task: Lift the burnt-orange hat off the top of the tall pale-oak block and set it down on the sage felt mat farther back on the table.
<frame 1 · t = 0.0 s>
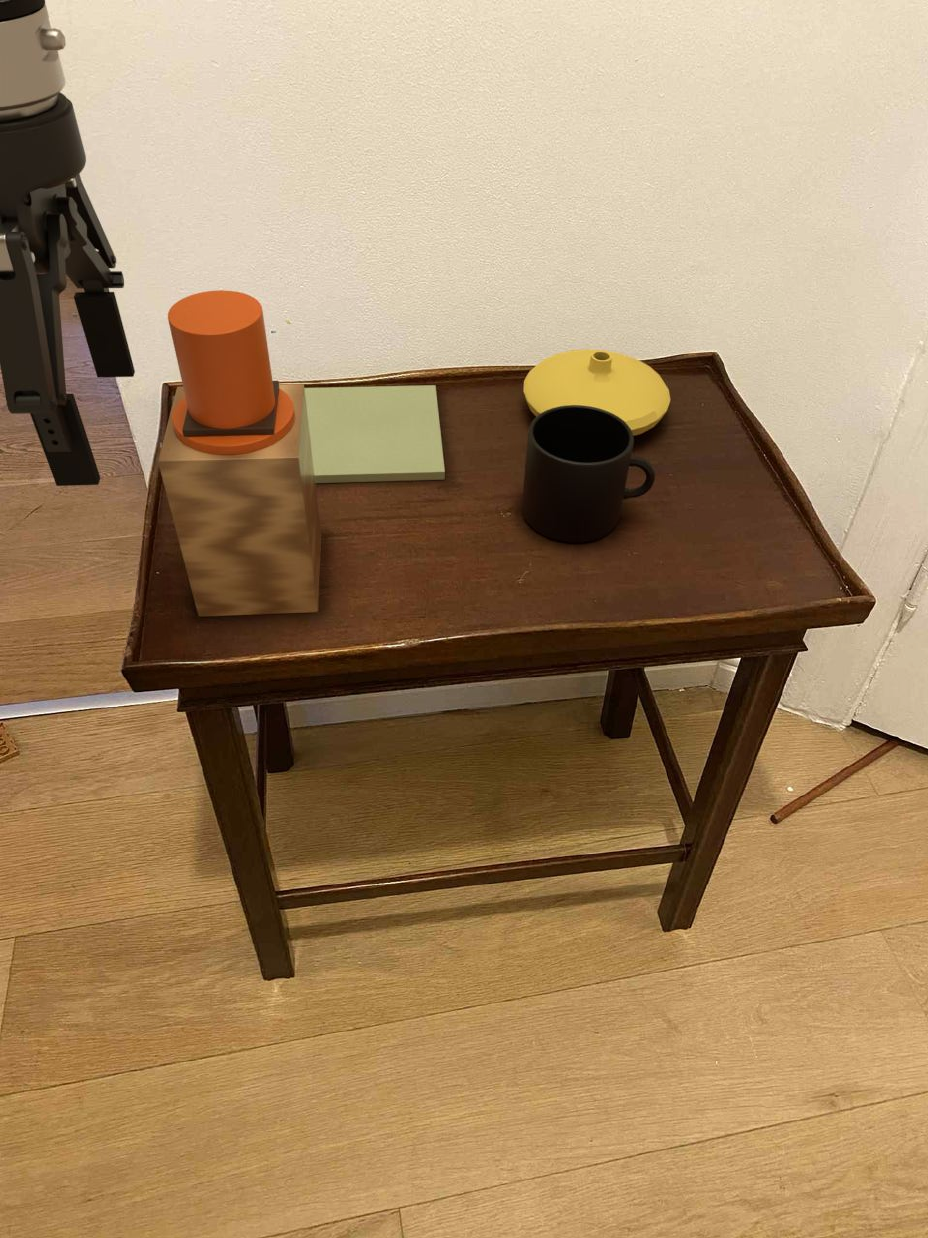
hand: (99, 424, 66), 18 cm above the table, tool pointing down, fingers open, 13 cm apart
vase: (592, 415, 100), on the table
hat: (234, 420, 69), point 16 cm above the table, touching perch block
mat: (354, 435, 96), on the table
mug: (583, 515, 88), on the table
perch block: (262, 574, 81), on the table
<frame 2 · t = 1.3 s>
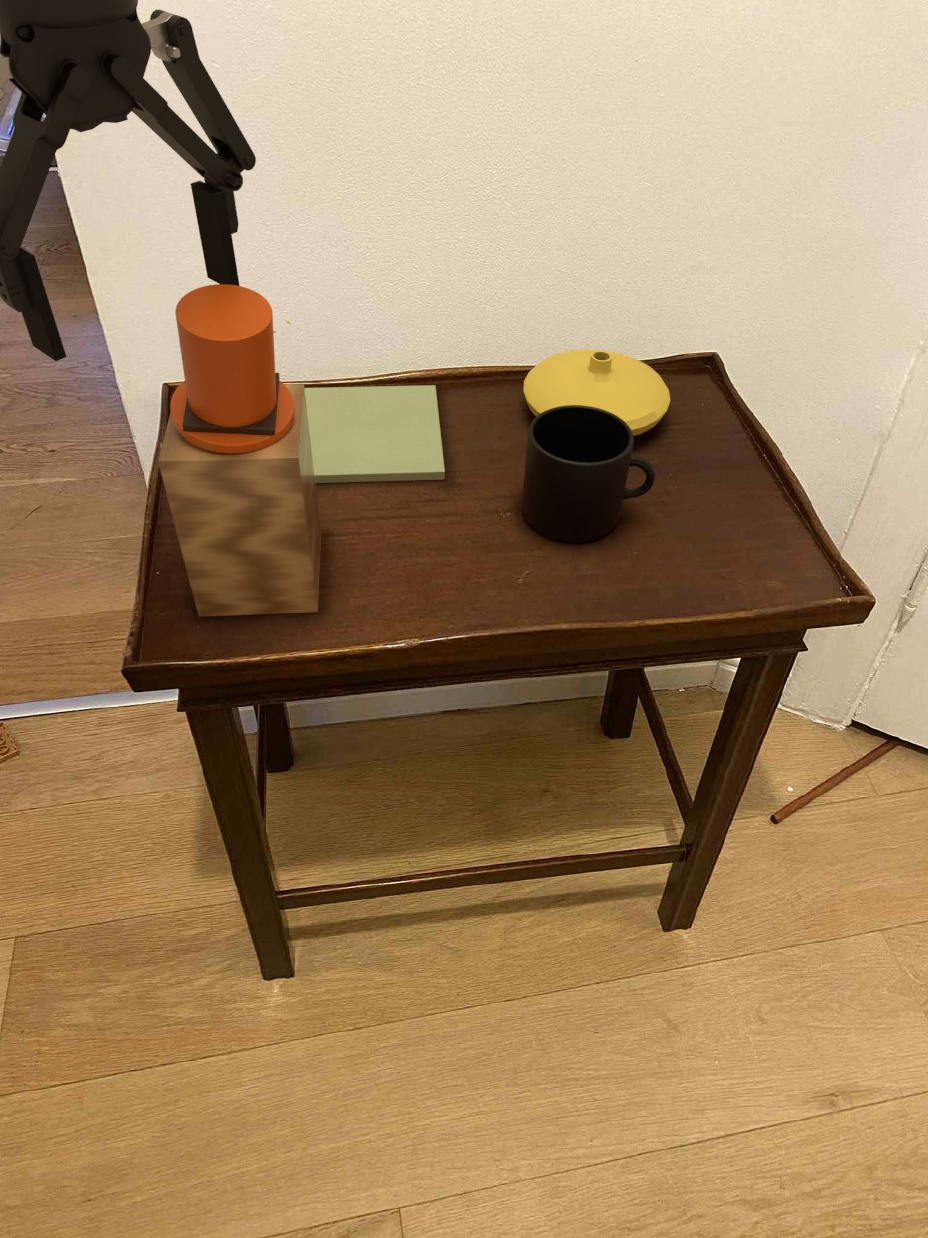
hand: (141, 315, 61), 25 cm above the table, tool pointing down, fingers open, 13 cm apart
hat: (233, 412, 69), point 17 cm above the table, tilted 9°, touching gripper, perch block
everything else where it was.
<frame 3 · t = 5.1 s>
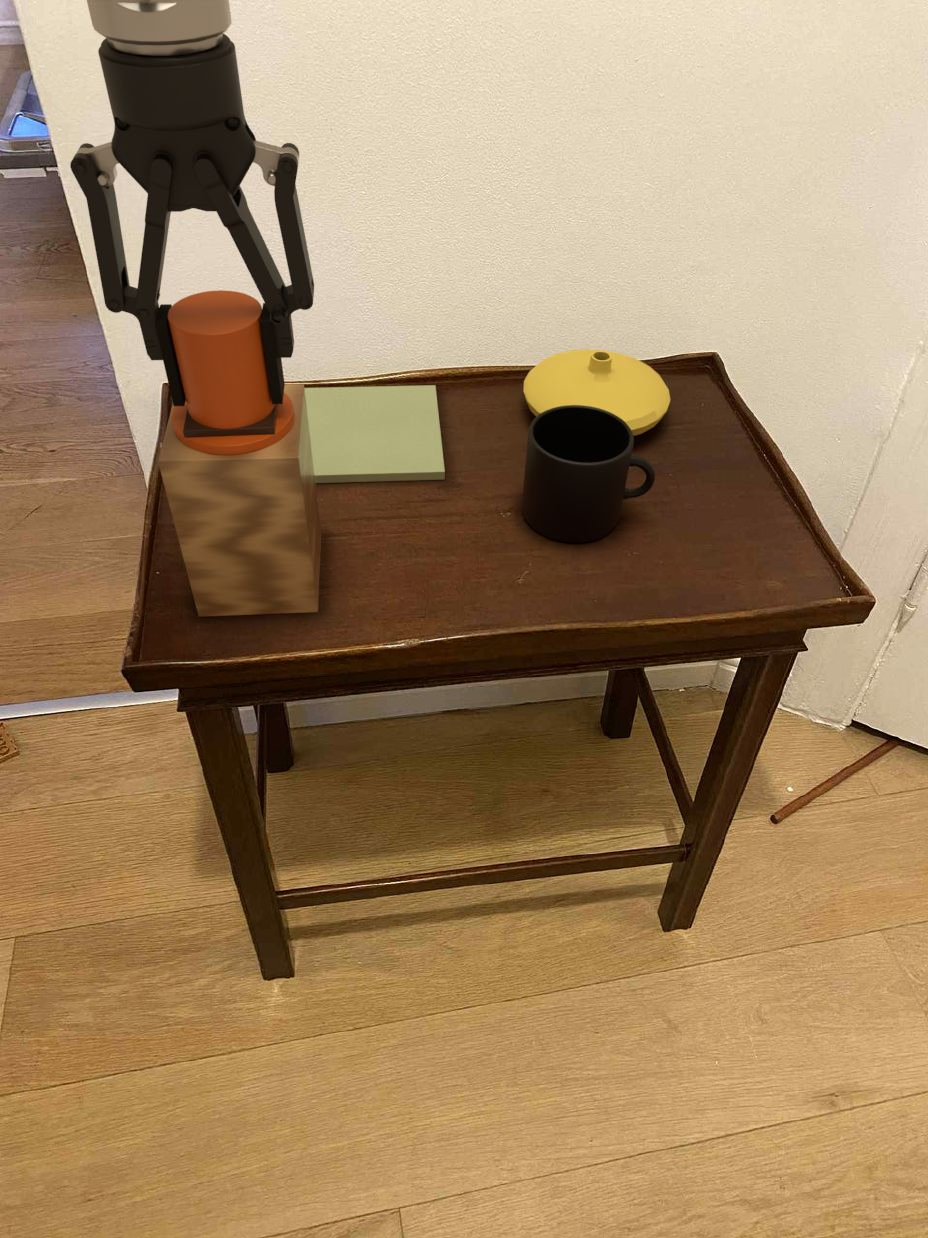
hand: (230, 394, 68), 18 cm above the table, tool pointing down, fingers closed on hat, 6 cm apart
hat: (234, 420, 69), point 16 cm above the table, touching gripper
everything else where it was.
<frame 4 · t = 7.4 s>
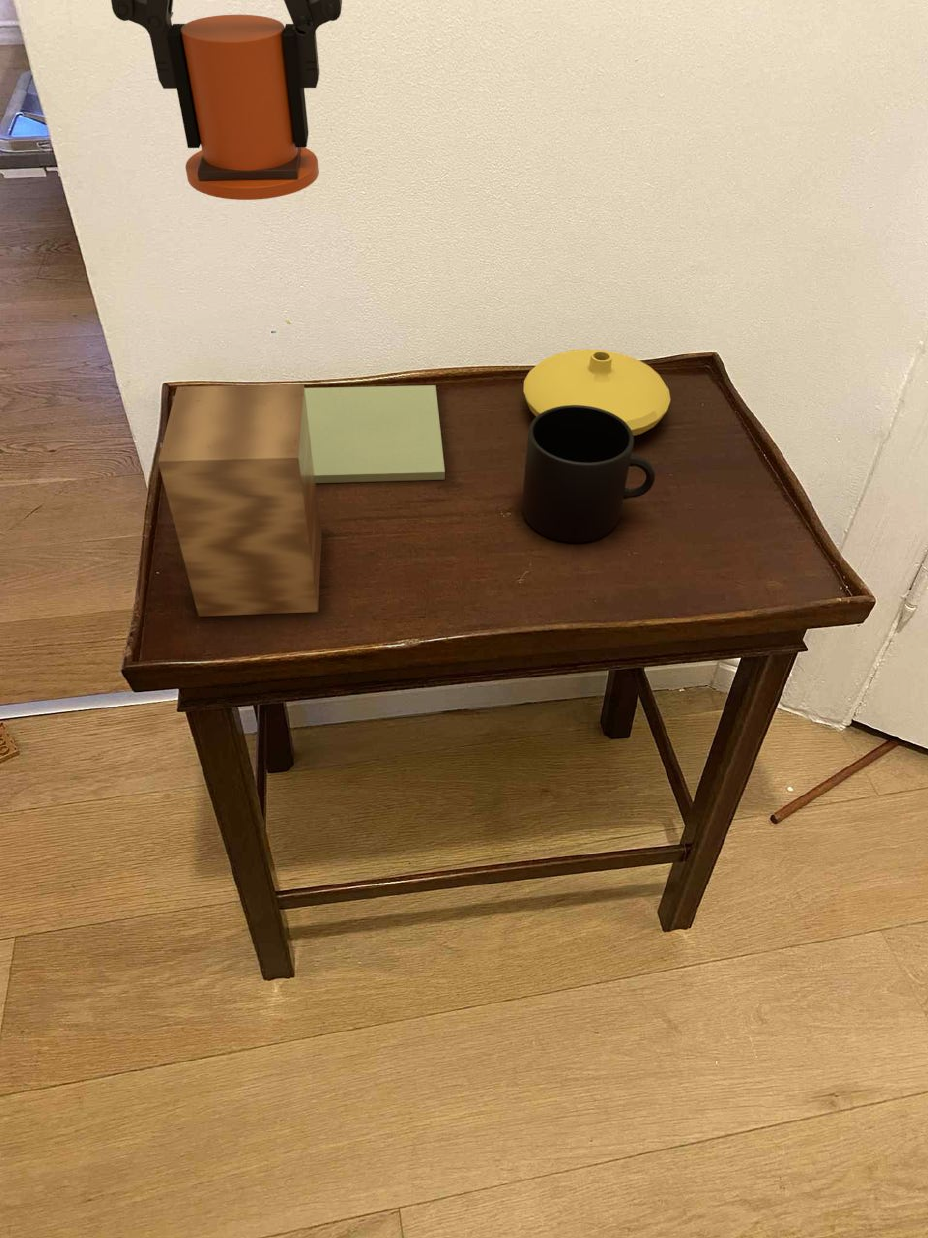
hand: (249, 139, 62), 34 cm above the table, tool pointing down, fingers closed on hat, 6 cm apart
hat: (253, 174, 63), point 31 cm above the table, touching gripper
everything else where it was.
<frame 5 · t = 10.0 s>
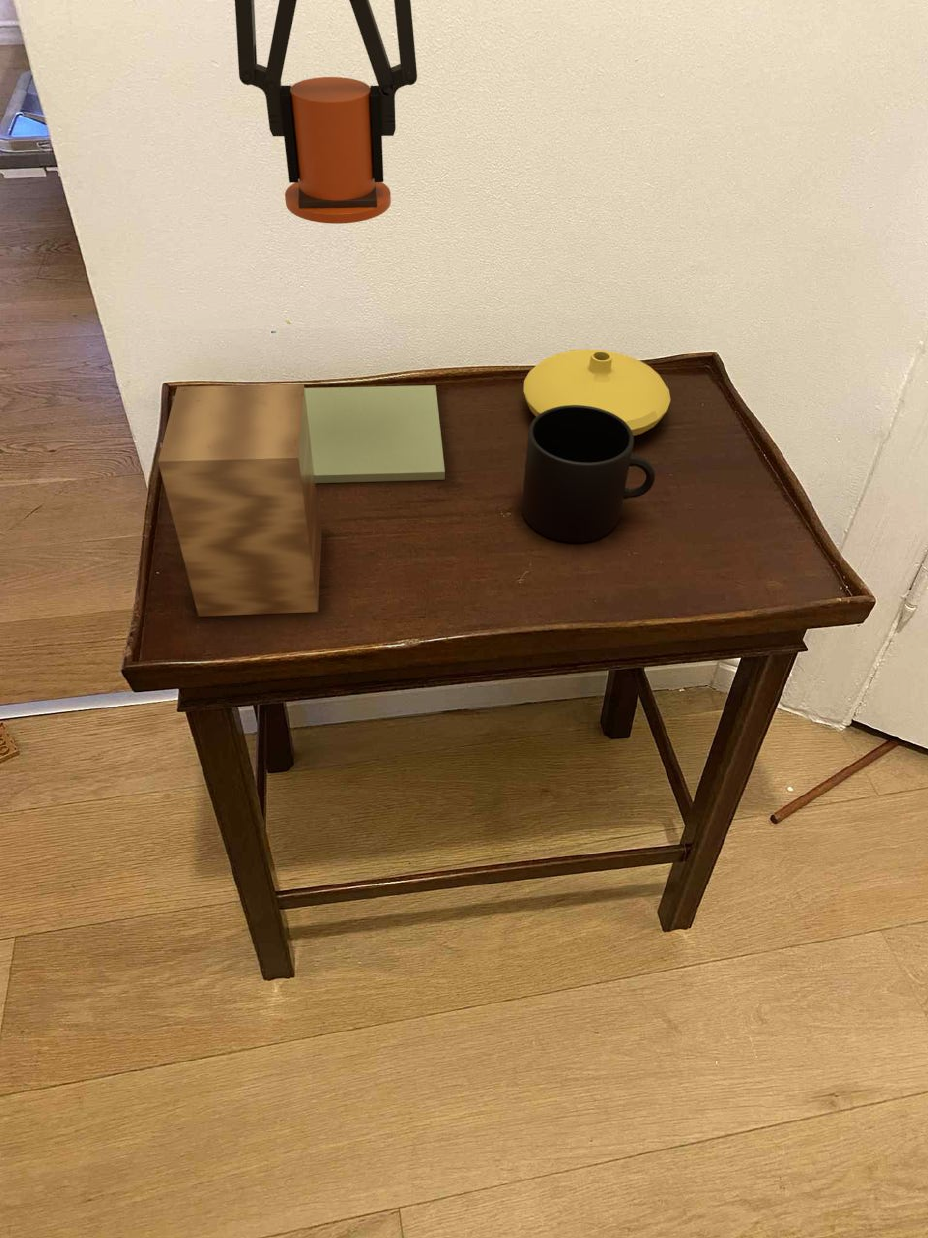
hand: (336, 175, 77), 26 cm above the table, tool pointing down, fingers closed on hat, 6 cm apart
hat: (338, 202, 79), point 24 cm above the table, touching gripper
everything else where it was.
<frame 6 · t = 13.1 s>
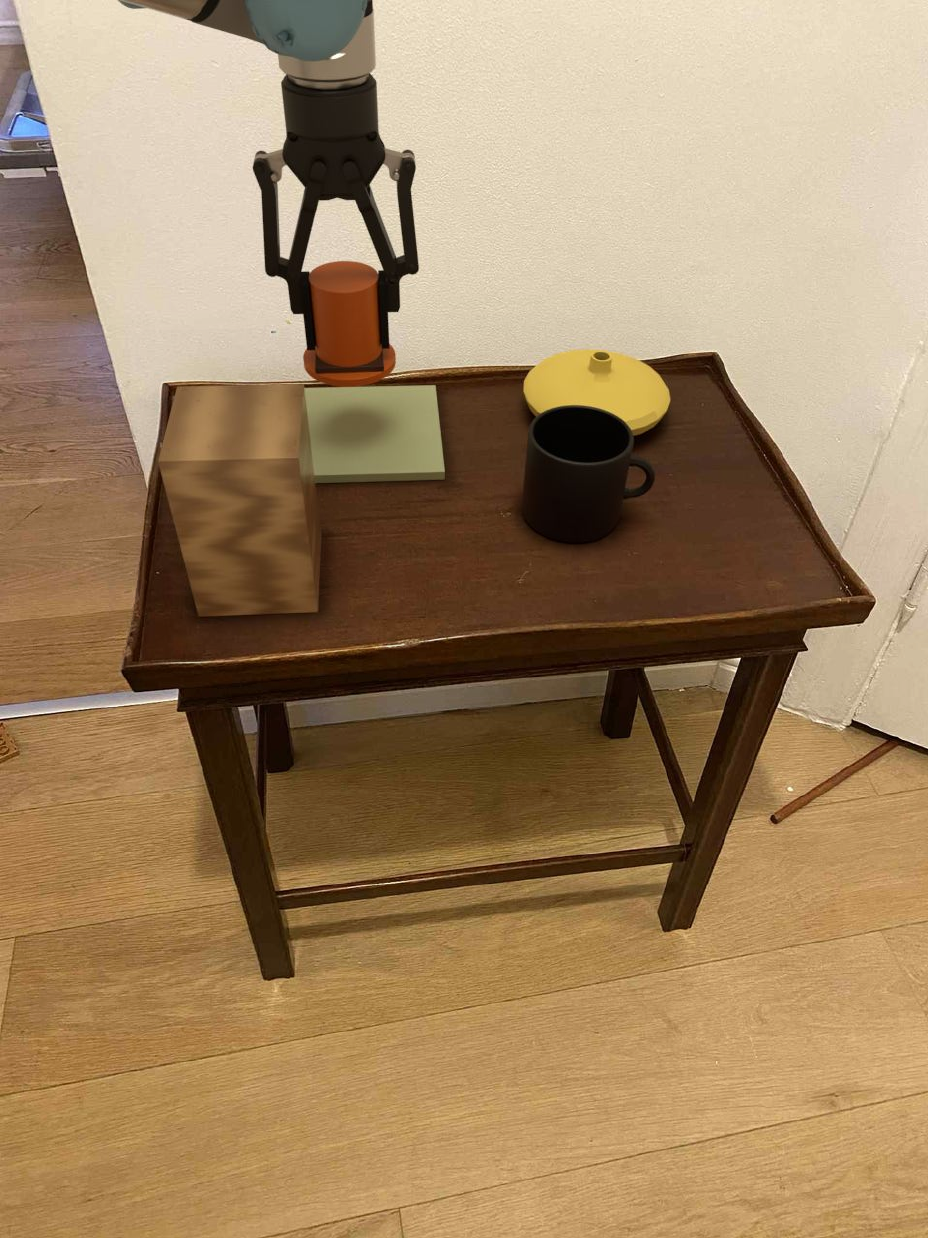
hand: (348, 341, 88), 11 cm above the table, tool pointing down, fingers closed on hat, 6 cm apart
hat: (350, 362, 90), point 9 cm above the table, touching gripper
everything else where it was.
when the fingers open (3 cm above the table, at t = 15.1 s): hat stays where it is, resting on mat.
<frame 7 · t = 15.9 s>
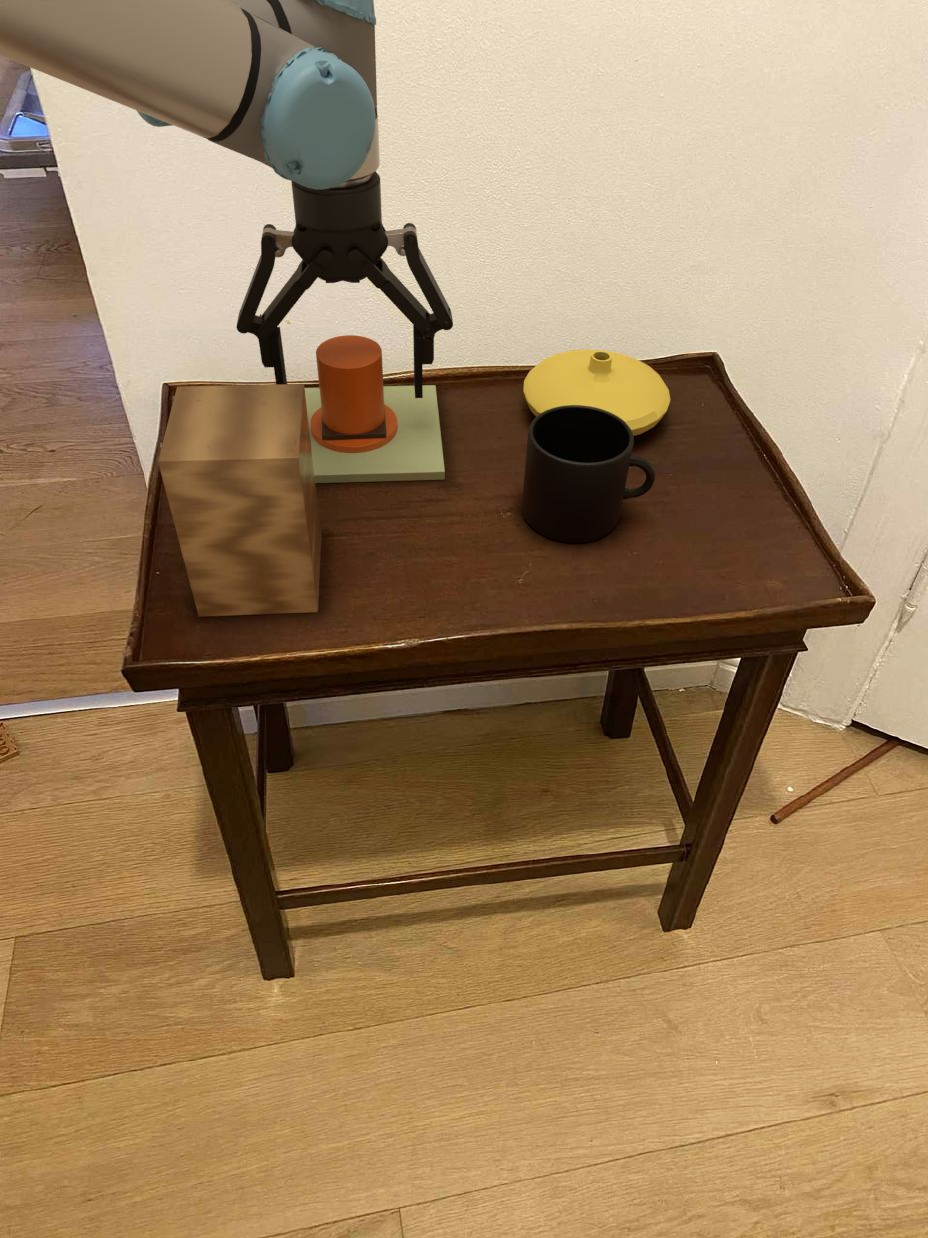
hand: (351, 392, 92), 5 cm above the table, tool pointing down, fingers open, 13 cm apart
hat: (354, 427, 95), point 1 cm above the table, touching mat
everything else where it was.
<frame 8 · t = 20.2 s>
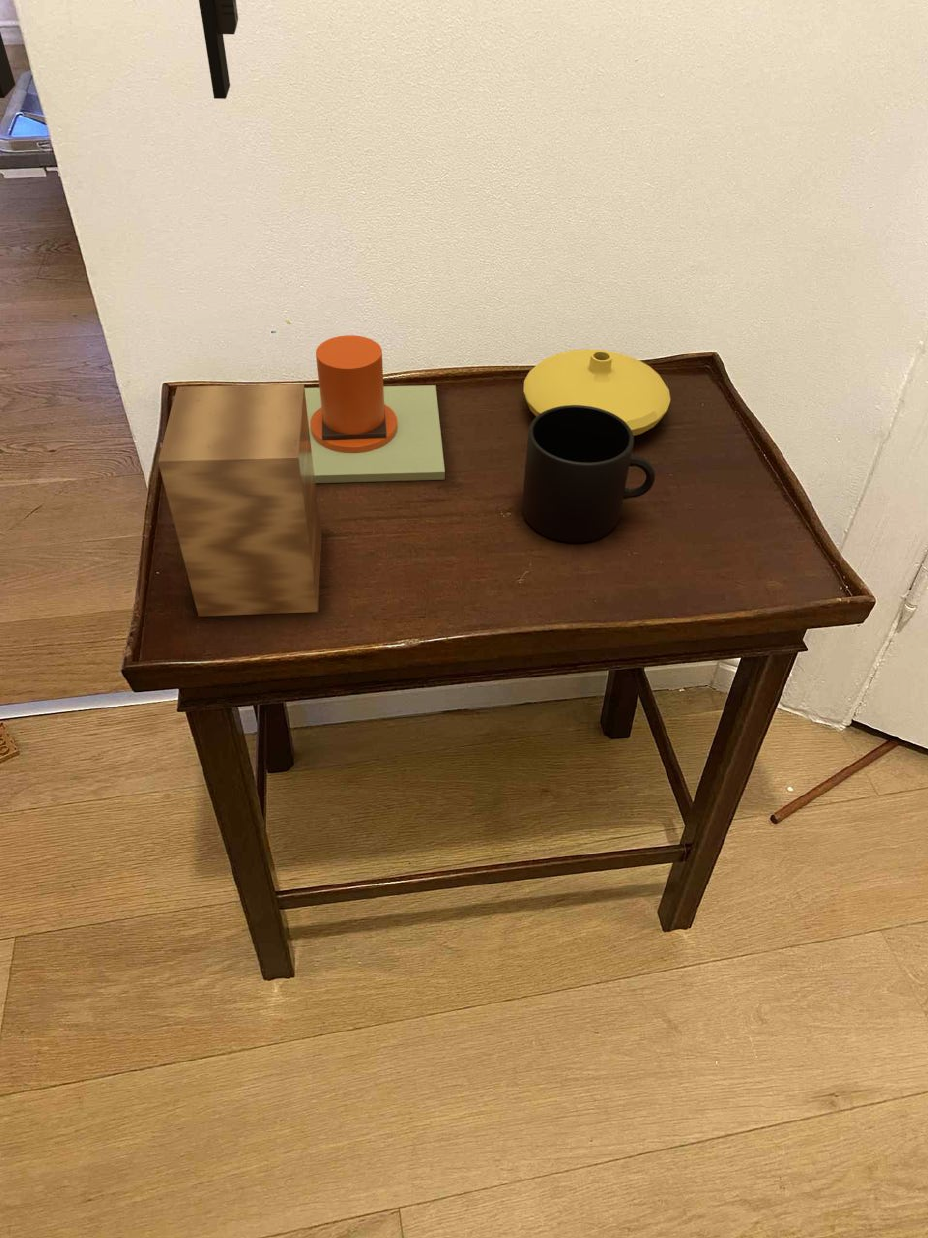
hand: (114, 92, 58), 37 cm above the table, tool pointing down, fingers open, 13 cm apart
nothing on the table moved.
at the end: hat inside the target area on the mat (0.1 cm from its centre), point 1.0 cm above the mat's base; hat tilted 0°; the gripper is holding nothing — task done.
